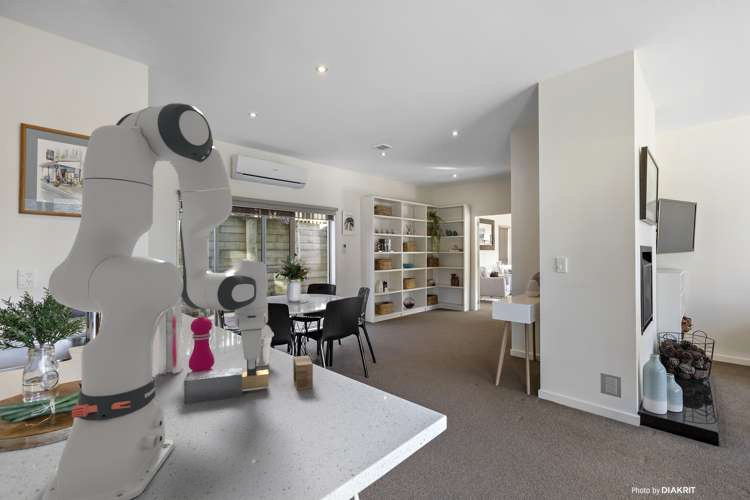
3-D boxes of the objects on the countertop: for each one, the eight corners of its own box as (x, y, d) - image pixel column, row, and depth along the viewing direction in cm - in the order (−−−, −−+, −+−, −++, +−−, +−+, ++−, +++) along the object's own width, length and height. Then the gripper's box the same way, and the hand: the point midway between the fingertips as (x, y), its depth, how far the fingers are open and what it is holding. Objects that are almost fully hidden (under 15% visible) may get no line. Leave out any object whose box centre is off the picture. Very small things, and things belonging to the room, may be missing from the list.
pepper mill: (204, 382, 105) (203, 315, 105) (183, 380, 107) (182, 314, 106) (219, 373, 112) (219, 310, 112) (199, 371, 114) (199, 310, 113)
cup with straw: (242, 366, 119) (242, 307, 119) (262, 358, 127) (261, 303, 127) (261, 370, 115) (261, 309, 115) (280, 361, 123) (280, 304, 123)
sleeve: (242, 396, 96) (242, 374, 95) (184, 404, 91) (184, 380, 91) (242, 387, 101) (242, 366, 101) (187, 394, 96) (187, 372, 96)
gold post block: (268, 386, 99) (268, 352, 99) (189, 396, 92) (188, 360, 92) (268, 381, 102) (267, 349, 102) (191, 391, 96) (191, 356, 95)
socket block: (312, 388, 101) (312, 363, 101) (296, 390, 100) (296, 365, 99) (308, 377, 109) (308, 355, 108) (293, 379, 107) (293, 357, 107)
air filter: (186, 368, 116) (185, 293, 116) (173, 375, 110) (172, 296, 109) (168, 367, 117) (167, 292, 117) (153, 375, 111) (153, 295, 110)
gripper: (240, 310, 108) (240, 355, 108) (238, 325, 88) (238, 380, 89) (261, 309, 110) (262, 353, 110) (264, 323, 90) (264, 376, 91)
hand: (251, 365), depth 99 cm, fingers closed on gold post block, 3 cm apart
